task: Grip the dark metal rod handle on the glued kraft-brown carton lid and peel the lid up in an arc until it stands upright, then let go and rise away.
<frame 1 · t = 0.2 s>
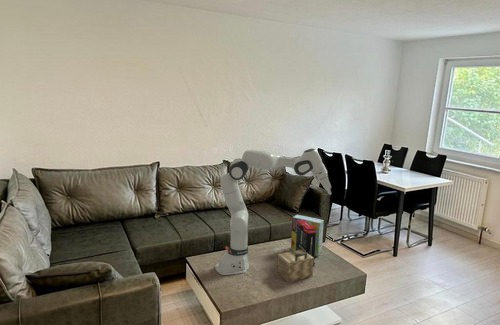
hand: (328, 192, 219), 54 cm above the table, tool tilted 30°, fingers open, 8 cm apart
graphics card box: (304, 261, 242), on the table
carton: (294, 274, 224), on the table
carton lid: (296, 253, 221), point 14 cm above the table, hinge at 0.0°
snack box: (306, 251, 257), on the table
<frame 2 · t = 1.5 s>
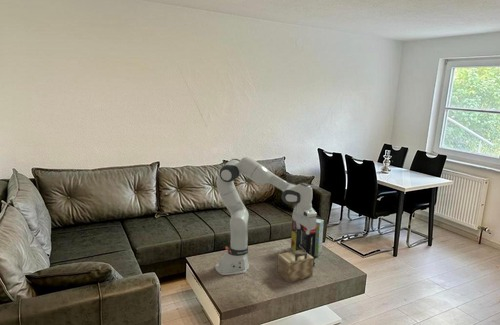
hand: (302, 231, 213), 31 cm above the table, tool pointing down, fingers open, 8 cm apart
nothing on the table moved.
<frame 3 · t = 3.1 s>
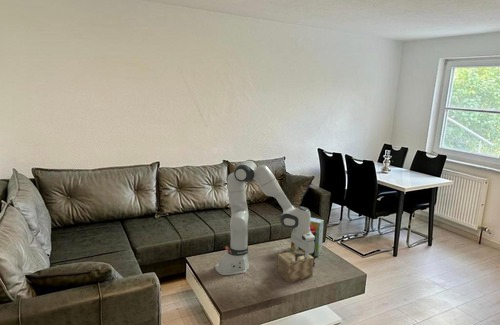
hand: (301, 254, 216), 16 cm above the table, tool pointing down, fingers open, 8 cm apart
nothing on the table moved.
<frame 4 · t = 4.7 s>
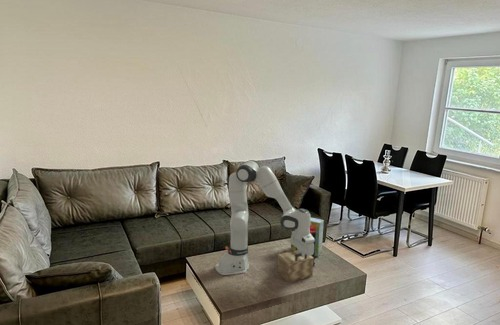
hand: (301, 256, 216), 15 cm above the table, tool pointing down, fingers closed on carton lid, 2 cm apart
carton lid: (296, 253, 221), point 14 cm above the table, hinge at 0.0°, touching gripper
everything else where it was.
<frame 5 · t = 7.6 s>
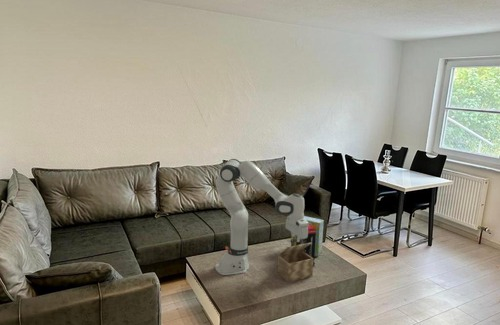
hand: (295, 240, 221), 23 cm above the table, tool pointing down, fingers open, 3 cm apart
carton lid: (293, 245, 224), point 18 cm above the table, hinge at 42.6°, touching gripper
everything else where it was.
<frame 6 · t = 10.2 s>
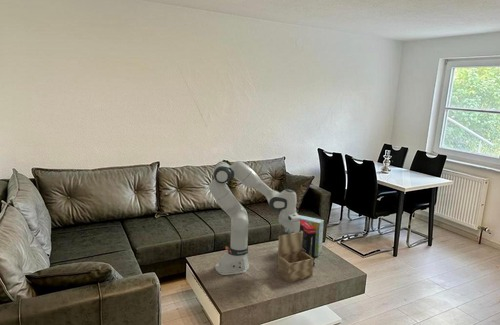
hand: (288, 234, 229), 23 cm above the table, tool pointing down, fingers closed on carton lid, 2 cm apart
carton lid: (288, 241, 228), point 19 cm above the table, hinge at 89.5°, touching gripper
everything else where it was.
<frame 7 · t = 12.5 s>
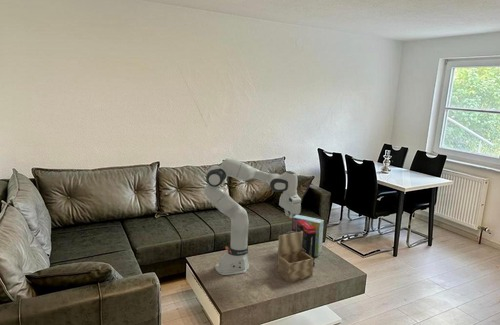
hand: (288, 216, 227), 35 cm above the table, tool pointing down, fingers open, 3 cm apart
carton lid: (288, 241, 228), point 19 cm above the table, hinge at 89.8°
everything else where it was.
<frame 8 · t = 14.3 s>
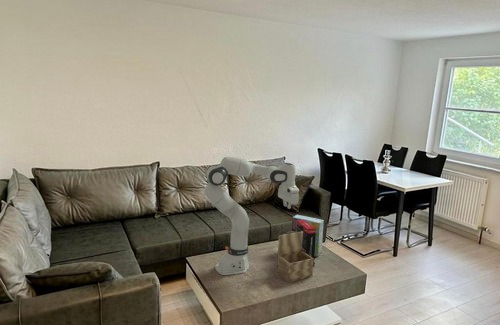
hand: (287, 207, 233), 39 cm above the table, tool pointing down, fingers open, 3 cm apart
nothing on the table moved.
at the end: carton lid at +90° (first picture: +0°); the gripper is holding nothing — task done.
